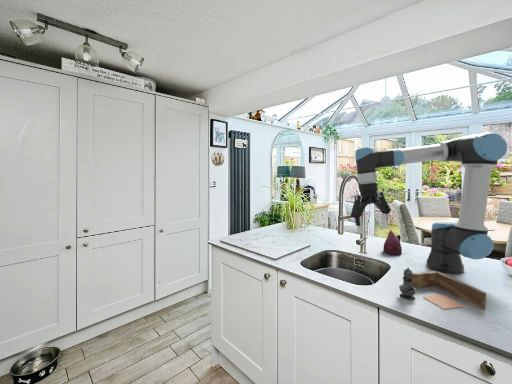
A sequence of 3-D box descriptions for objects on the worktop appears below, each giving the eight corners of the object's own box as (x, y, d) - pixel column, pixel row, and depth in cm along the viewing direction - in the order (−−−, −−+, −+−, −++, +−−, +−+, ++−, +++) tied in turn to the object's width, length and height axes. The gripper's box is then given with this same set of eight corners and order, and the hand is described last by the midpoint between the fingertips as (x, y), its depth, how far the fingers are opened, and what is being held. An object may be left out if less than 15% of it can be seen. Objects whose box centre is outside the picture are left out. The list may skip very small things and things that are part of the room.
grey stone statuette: (400, 291, 102) (401, 263, 101) (417, 296, 99) (418, 266, 98) (397, 297, 98) (398, 267, 97) (415, 302, 94) (416, 271, 93)
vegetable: (381, 255, 156) (376, 231, 159) (399, 253, 154) (393, 229, 157) (387, 256, 146) (381, 230, 148) (406, 254, 144) (400, 228, 147)
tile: (442, 294, 99) (442, 294, 99) (465, 306, 90) (465, 306, 90) (422, 297, 98) (422, 296, 98) (443, 309, 89) (443, 308, 89)
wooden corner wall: (436, 284, 108) (436, 270, 108) (485, 309, 89) (486, 292, 88) (411, 286, 106) (411, 273, 106) (456, 312, 87) (457, 296, 86)
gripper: (383, 180, 118) (388, 225, 118) (338, 186, 110) (344, 234, 110) (396, 179, 111) (401, 226, 111) (349, 185, 103) (355, 236, 103)
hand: (373, 230), depth 111 cm, fingers open, 13 cm apart
